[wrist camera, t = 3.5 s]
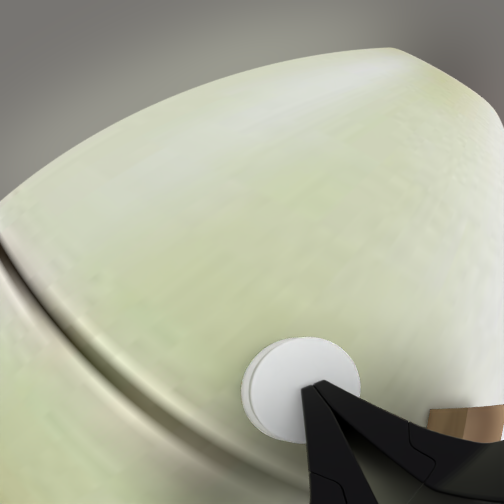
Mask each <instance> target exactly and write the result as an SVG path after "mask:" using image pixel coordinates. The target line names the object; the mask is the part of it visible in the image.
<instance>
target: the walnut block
mask: <svg viewBox="0 0 504 504" xmlns="http://www.w3.org/2000/svg"><path fill="white" fill-rule="evenodd" d="M503 425H504V404H503V405H494V406H484V407H470V408H454V409H430V414H429V419H428V424H427V429H429V430H432V431H435V432H438V433H441V434H445V435H449V436H453V437H457V438H461V439H465V440H469V441H474V442H480V443H491V442H497V441H500V440H501V436H502V431H503Z"/></svg>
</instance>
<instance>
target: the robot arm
mask: <svg viewBox="0 0 504 504" xmlns="http://www.w3.org/2000/svg"><path fill="white" fill-rule="evenodd" d="M301 399H302V408H303V417H304V427H305V437H306V448H307V459H308V470H309V485H310V503H309V504H504V440H502V441H497V442H491V443H480V442H474V441H469V440H465V439H461V438H457V437H453V436H449V435H445V434H441V433H438V432H435V431H432V430H429V429H426V428H424V427H421V426H419V425H416V424H414V423H412V422H408V421H407V420H405V419H403V418H401V417H399V416H396V415H394V414H392V413H390V412H388V411H386V410H384V409H381V408H379V407H377V406H375V405H373V404H371V403H369V402H367V401H365V400H363V399H361V398H359V397H357V396H355V395H353V394H351V393H349V392H347V391H345V390H344V389H342V388H340V387H338V386H336V385H334V384H332V383H330V382H328V381H327V380H321V381H318V382H316V383H314V384H313V385H308V386H306V387H303V388H301Z"/></svg>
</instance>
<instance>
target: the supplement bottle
mask: <svg viewBox="0 0 504 504" xmlns="http://www.w3.org/2000/svg"><path fill="white" fill-rule="evenodd" d="M321 380H327V381H328V382H330V383H332V384H334V385H336V386H338V387H340V388H342V389H344V390H345V391H347V392H349V393H351V394H353V395H355V396H357V397H359V398H360V386H361V384H360V377H359V373H358V370H357V368H356V365H355V363H354V362H353V360H352V359H351V357H350V356H349V355H348V354H347V353H346V352H345V351H344V350H343V349H342V348H341V347H339V346H338V345H336V344H334V343H333V342H330V341H328V340H325V339H322V338H317V337H293V338H287V339H283V340H279V341H277V342H274V343H272V344H270V345H269V346H267V347H265V348H264V349H263V350H262V351H260V352H259V353H258V354H257V355H256V356H255V357H254V358H253V359H252V361H251V362H250V364H249V365H248V367H247V369H246V371H245V373H244V376H243V379H242V383H241V400H242V405H243V408H244V410H245V413H246V415H247V417H248V418H249V420H250V421H251V422H252V424H253V425H254V426H255V427H256V428H257V429H259V430H260V431H261V432H263V433H264V434H266V435H268V436H270V437H272V438H274V439H278V440H282V441H288V442H292V443H298V444H306V437H305V427H304V417H303V408H302V399H301V388H303V387H306V386H308V385H313V384H314V383H316V382H318V381H321Z"/></svg>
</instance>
